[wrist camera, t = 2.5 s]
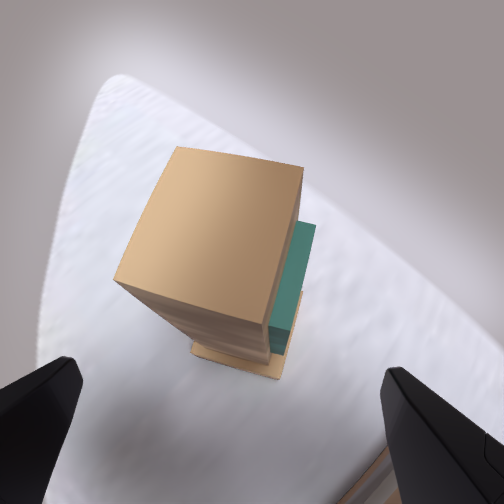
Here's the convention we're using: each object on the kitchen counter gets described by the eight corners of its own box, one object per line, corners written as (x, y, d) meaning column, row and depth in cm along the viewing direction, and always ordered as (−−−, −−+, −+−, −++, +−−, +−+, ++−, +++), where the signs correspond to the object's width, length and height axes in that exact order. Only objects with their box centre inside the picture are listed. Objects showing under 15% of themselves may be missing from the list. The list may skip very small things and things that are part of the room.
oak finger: (198, 356, 19) (81, 290, 7) (222, 281, 21) (161, 131, 9) (279, 380, 18) (291, 357, 6) (300, 301, 20) (335, 159, 8)
